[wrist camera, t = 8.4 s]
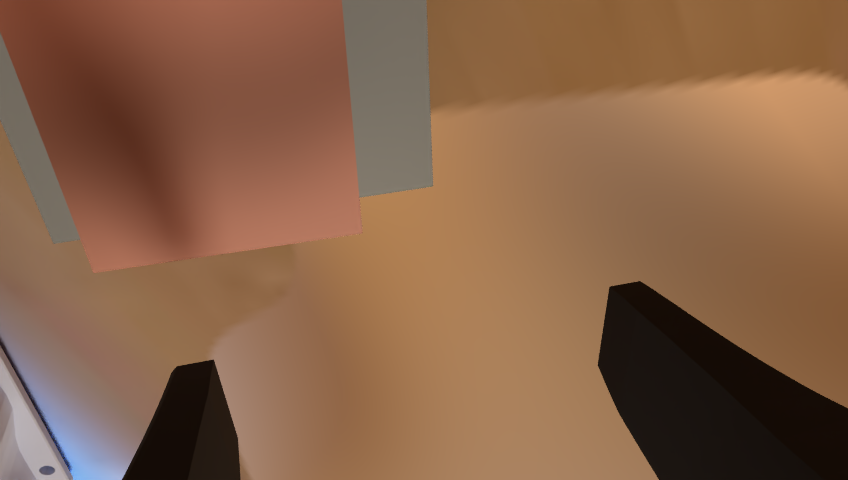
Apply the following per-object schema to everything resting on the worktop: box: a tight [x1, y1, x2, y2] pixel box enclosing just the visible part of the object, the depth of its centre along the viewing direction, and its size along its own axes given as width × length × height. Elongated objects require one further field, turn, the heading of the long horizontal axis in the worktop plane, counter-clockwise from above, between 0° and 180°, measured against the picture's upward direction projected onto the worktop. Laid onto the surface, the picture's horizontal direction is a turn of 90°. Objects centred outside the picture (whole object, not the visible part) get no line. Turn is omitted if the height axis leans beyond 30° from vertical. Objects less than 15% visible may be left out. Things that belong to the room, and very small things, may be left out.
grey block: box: [0, 0, 433, 244], centre depth 17 cm, size 10×10×4 cm
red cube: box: [0, 0, 362, 273], centre depth 14 cm, size 5×5×5 cm
